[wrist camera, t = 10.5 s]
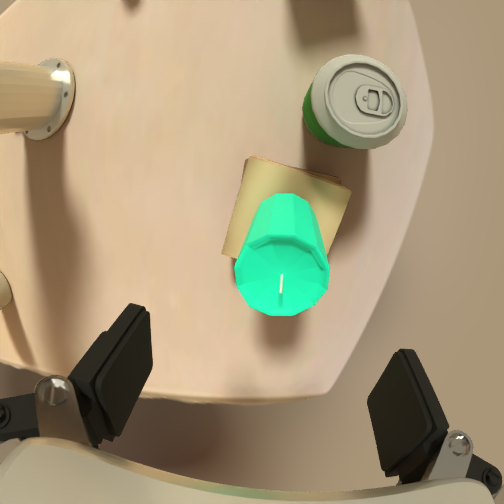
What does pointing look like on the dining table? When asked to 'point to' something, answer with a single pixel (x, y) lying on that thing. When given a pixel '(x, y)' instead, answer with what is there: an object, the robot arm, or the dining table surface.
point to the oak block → (284, 181)
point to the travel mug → (4, 291)
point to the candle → (282, 258)
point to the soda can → (355, 103)
